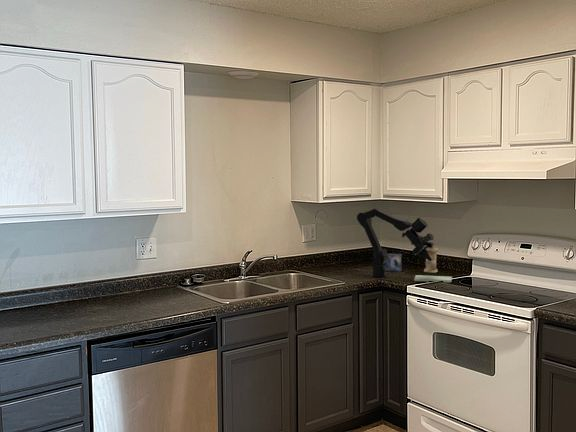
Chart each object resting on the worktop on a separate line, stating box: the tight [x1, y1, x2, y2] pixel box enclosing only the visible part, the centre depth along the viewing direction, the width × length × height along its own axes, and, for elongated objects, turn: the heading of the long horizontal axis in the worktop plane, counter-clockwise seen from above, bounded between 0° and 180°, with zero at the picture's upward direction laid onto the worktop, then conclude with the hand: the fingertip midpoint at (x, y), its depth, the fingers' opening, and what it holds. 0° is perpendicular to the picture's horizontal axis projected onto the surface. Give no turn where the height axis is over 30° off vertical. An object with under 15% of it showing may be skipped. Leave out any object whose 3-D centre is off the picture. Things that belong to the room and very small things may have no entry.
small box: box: [384, 252, 403, 273], centre depth 368 cm, size 11×6×10 cm, turn 76°
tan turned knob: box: [423, 247, 439, 273], centre depth 331 cm, size 7×7×13 cm
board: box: [414, 274, 453, 283], centre depth 338 cm, size 20×12×1 cm, turn 74°
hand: (433, 259), depth 330 cm, fingers closed on tan turned knob, 6 cm apart
